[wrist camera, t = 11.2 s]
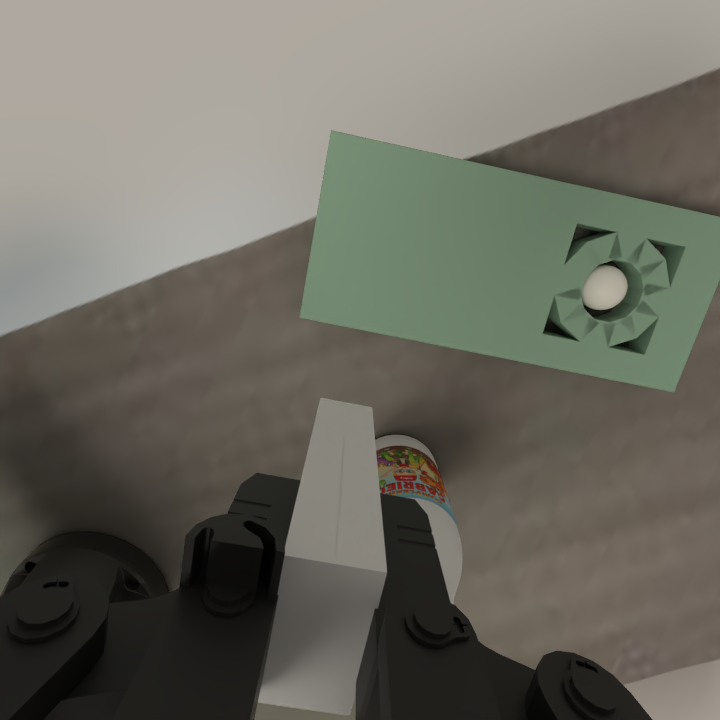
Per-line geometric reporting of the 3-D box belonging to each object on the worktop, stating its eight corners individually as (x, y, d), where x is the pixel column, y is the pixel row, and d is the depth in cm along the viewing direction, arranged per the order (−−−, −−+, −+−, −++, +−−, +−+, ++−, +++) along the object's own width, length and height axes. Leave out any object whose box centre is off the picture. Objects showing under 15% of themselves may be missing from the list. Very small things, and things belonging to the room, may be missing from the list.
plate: (303, 312, 38) (299, 317, 36) (333, 138, 35) (331, 130, 32) (654, 383, 40) (673, 392, 37) (717, 223, 36) (743, 221, 34)
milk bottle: (442, 496, 43) (510, 705, 23) (364, 512, 43) (368, 731, 24) (427, 423, 41) (487, 587, 22) (345, 441, 41) (333, 617, 22)
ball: (620, 316, 34) (617, 313, 37) (636, 268, 33) (631, 270, 36) (570, 305, 35) (571, 303, 39) (584, 260, 35) (584, 262, 38)
